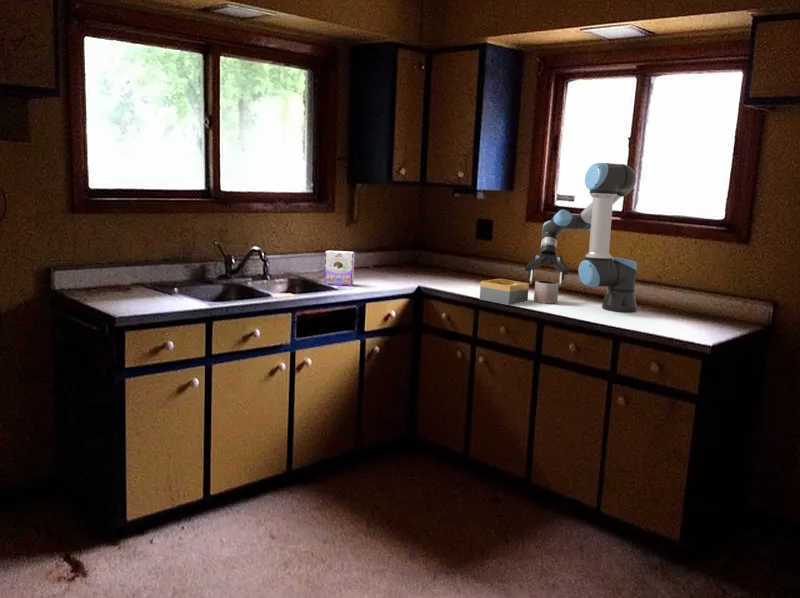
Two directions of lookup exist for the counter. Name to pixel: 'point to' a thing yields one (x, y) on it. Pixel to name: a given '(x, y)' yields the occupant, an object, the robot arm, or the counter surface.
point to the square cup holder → (504, 291)
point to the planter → (546, 291)
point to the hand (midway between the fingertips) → (545, 283)
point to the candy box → (339, 268)
